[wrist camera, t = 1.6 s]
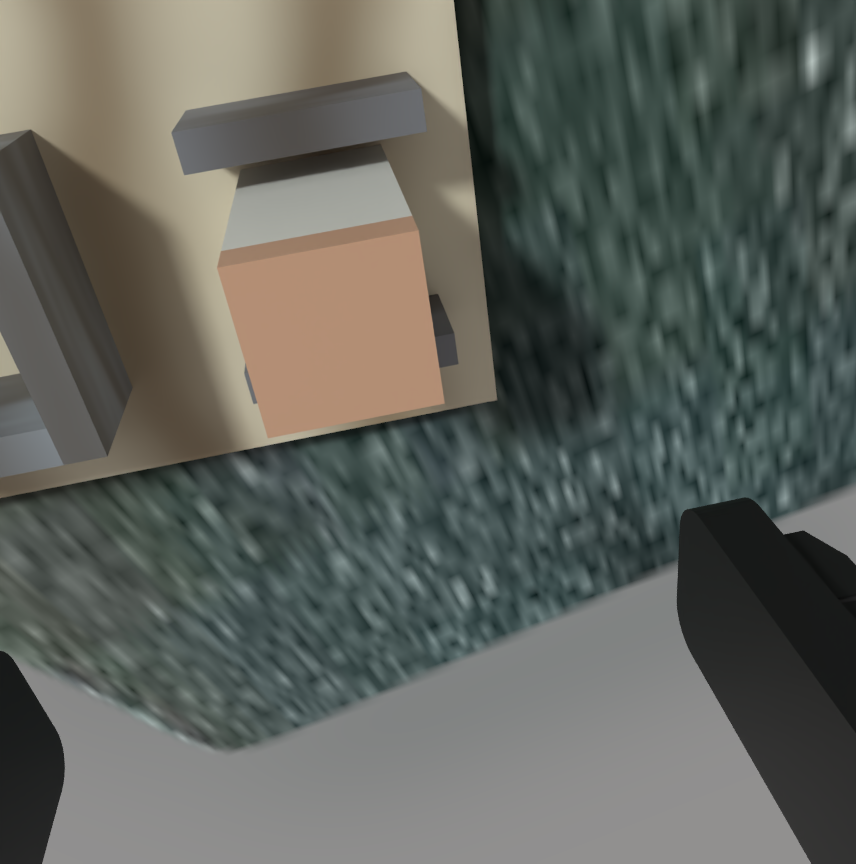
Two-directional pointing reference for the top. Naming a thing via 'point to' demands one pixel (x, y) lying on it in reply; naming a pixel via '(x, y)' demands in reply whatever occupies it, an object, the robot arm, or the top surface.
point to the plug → (329, 292)
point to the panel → (199, 209)
